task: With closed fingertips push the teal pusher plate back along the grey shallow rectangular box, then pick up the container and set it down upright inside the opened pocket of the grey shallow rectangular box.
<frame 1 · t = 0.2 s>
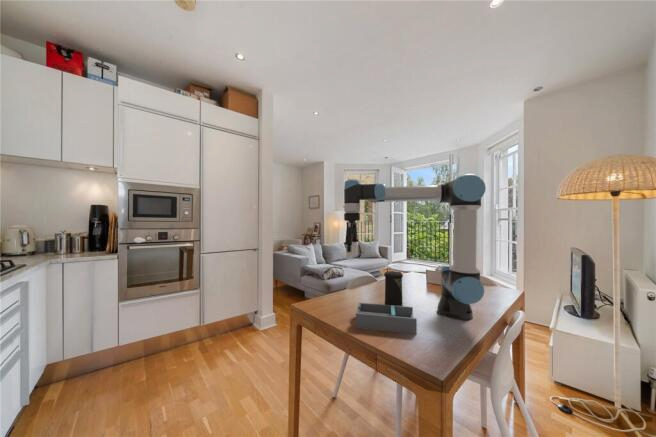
hand: (351, 257, 114), 28 cm above the table, fingers open, 13 cm apart
pusher: (375, 314, 104), point 4 cm above the table, slide at 0.0 cm
container: (393, 313, 116), on the table
grey shallow rectangular box: (385, 323, 103), on the table
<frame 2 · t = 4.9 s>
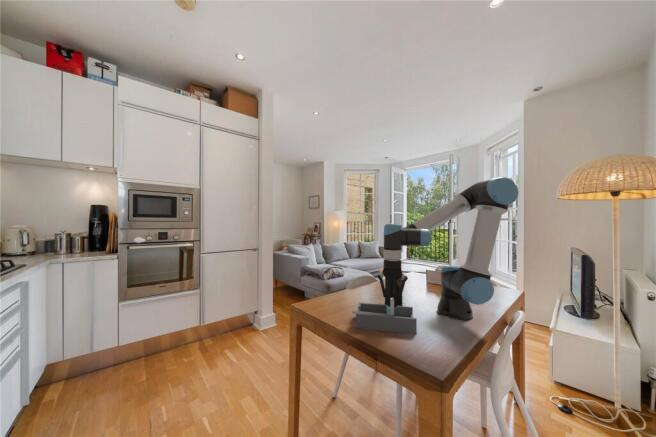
hand: (391, 313, 103), 5 cm above the table, fingers closed
pusher: (370, 313, 105), point 4 cm above the table, slide at 1.9 cm, touching gripper
everything else where it was.
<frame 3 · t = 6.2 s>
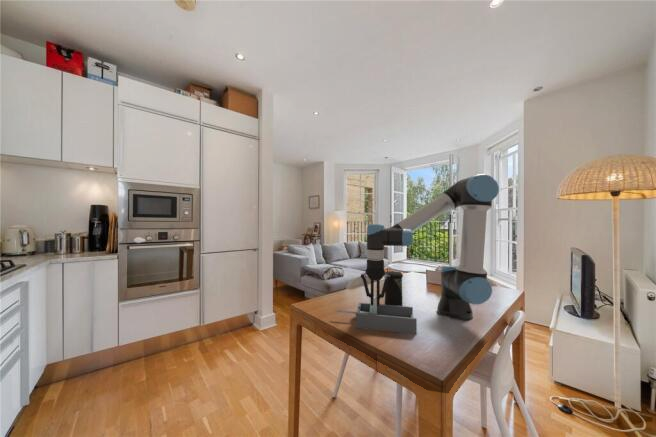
hand: (375, 312, 104), 4 cm above the table, fingers closed
pusher: (354, 312, 106), point 4 cm above the table, slide at 9.1 cm, touching gripper
everything else where it was.
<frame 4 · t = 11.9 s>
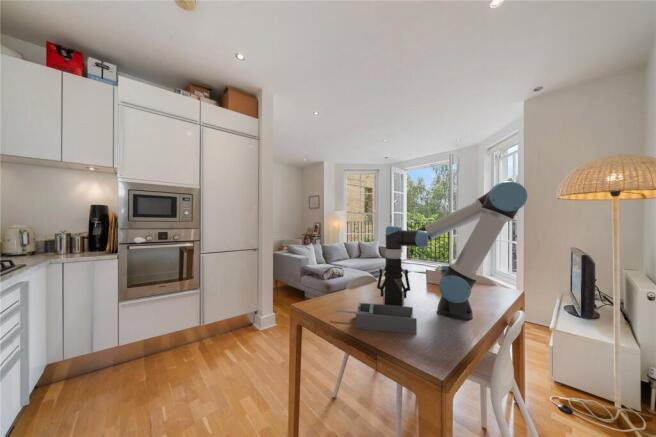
hand: (393, 303, 116), 4 cm above the table, fingers closed on container, 8 cm apart
pusher: (354, 312, 106), point 4 cm above the table, slide at 9.2 cm
container: (393, 313, 116), on the table, touching gripper
when the fingers open (8 cm above the table, at t = 17.9 s): container drops 2 cm, resting on grey shallow rectangular box.
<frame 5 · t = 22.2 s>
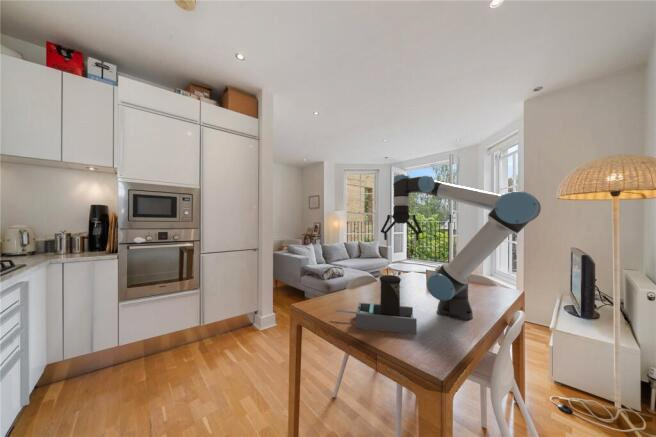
hand: (401, 246, 121), 32 cm above the table, fingers open, 13 cm apart
container: (389, 322, 103), point 1 cm above the table, touching grey shallow rectangular box
everything else where it was.
at the end: container inside the target area on the grey shallow rectangular box (0.1 cm from its centre), point 0.8 cm above the grey shallow rectangular box's base; container tilted 1°; pusher slide at 9.2 cm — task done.
